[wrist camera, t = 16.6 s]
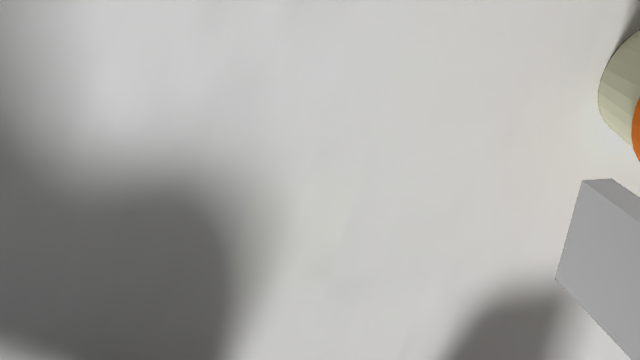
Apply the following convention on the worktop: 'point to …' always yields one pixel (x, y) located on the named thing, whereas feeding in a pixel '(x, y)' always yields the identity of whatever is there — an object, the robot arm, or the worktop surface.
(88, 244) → the worktop surface
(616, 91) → the reusable coffee cup
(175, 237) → the worktop surface
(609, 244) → the robot arm
